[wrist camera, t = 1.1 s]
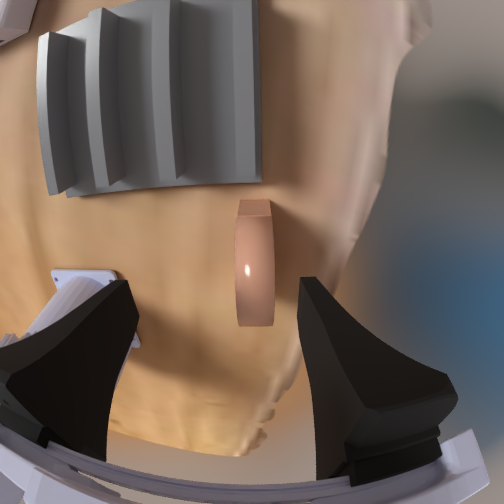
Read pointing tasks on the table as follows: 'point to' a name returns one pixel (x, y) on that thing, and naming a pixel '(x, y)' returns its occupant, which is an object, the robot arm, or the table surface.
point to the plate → (254, 264)
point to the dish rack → (151, 97)
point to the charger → (15, 18)
